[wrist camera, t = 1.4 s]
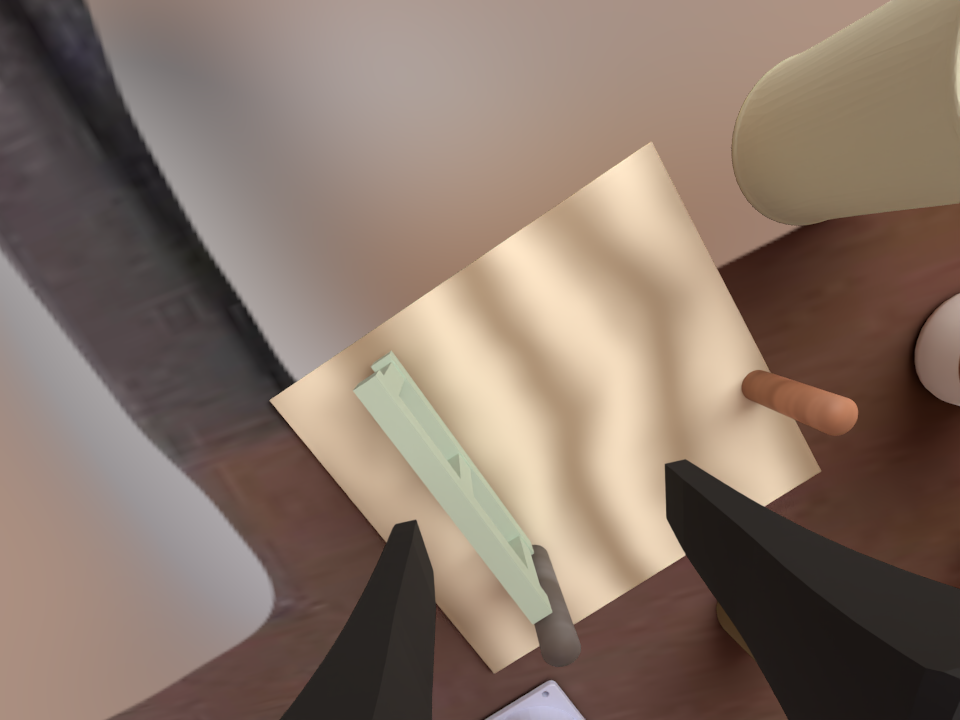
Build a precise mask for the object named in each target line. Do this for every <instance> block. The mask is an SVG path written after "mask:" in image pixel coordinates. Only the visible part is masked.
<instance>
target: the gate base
mask: <svg viewBox="0 0 960 720" xmlns="http://www.w3.org/2000/svg"><path fill="white" fill-rule="evenodd" d="M391 350H392V352H393V353H394V355H395V356H396V357H397V359H398V360H399V361H400V363H401V364H402V366H403V367H404V368H405V370H406V371H407V372H408V374H409V375H410V377H411V378H412V379H413V381H414V382H415V383H416V385H417V386H418V388H419V389H420V390H421V392H422V393H423V394H424V396H425V397H426V399H427V400H428V401H429V403H430V404H431V405H432V407H433V408H434V410H435V411H436V412H437V414H438V415H439V416H440V418H441V419H442V421H443V422H444V423H445V425H446V426H447V427H448V429H449V430H450V431H451V433H452V434H453V436H454V437H455V438H456V440H457V441H458V442H459V444H460V445H461V447H462V448H463V449H464V451H465V452H466V453H467V455H468V456H469V458H470V459H471V460H472V462H473V463H474V464H475V466H476V467H477V469H478V470H479V471H480V473H481V474H482V475H483V477H484V478H485V480H486V481H487V482H488V484H489V485H490V486H491V488H492V489H493V491H494V492H495V493H496V495H497V496H498V497H499V499H500V500H501V502H502V503H503V504H504V506H505V507H506V508H507V510H508V511H509V513H510V514H511V515H512V517H513V518H514V519H515V521H516V522H517V523H518V525H519V526H520V528H521V529H522V530H523V532H524V533H525V534H526V536H527V537H528V539H529V540H530V541H531V544H532V548H533V551H534V554H532V555H531V556H532V560H533V563H534V566H535V570H536V573H537V577H538V580H539V583H540V586H541V588H542V589H543V590H544V592H545V593H546V594H547V596H548V599H549V602H550V606H551V609H552V612H553V613H551V614H549V615H548V616H546V617H545V618H543V619H541V620H540V621H538V622H536V623H535V624H532V623H531V622H530V621H529V619H528V618H527V617H526V615H525V614H524V613H523V611H522V610H521V609H520V608H519V606H518V605H517V604H516V602H515V601H514V600H513V598H512V597H511V596H510V595H509V593H508V592H507V591H506V589H505V588H504V587H503V585H502V584H501V583H500V582H499V580H498V579H497V578H496V576H495V575H494V574H493V572H492V571H491V570H490V569H489V567H488V566H487V565H486V563H485V562H484V561H483V559H482V558H481V557H480V556H479V554H478V553H477V552H476V550H475V549H474V548H473V546H472V545H471V544H470V543H469V541H468V540H467V539H466V537H465V536H464V535H463V533H462V532H461V531H460V530H459V528H458V527H457V526H456V524H455V523H454V522H453V520H452V519H451V518H450V516H449V515H448V514H447V513H446V511H445V510H444V509H443V507H442V506H441V505H440V503H439V502H438V501H437V500H436V498H435V497H434V496H433V494H432V493H431V492H430V490H429V489H428V488H427V487H426V485H425V484H424V483H423V481H422V480H421V479H420V477H419V476H418V475H417V474H416V472H415V471H414V470H413V468H412V467H411V466H410V464H409V463H408V462H407V461H406V459H405V458H404V457H403V455H402V454H401V453H400V451H399V450H398V449H397V448H396V446H395V445H394V444H393V442H392V441H391V440H390V438H389V437H388V436H387V435H386V433H385V432H384V431H383V429H382V428H381V427H380V425H379V424H378V423H377V422H376V420H375V419H374V418H373V416H372V415H371V414H370V412H369V411H368V410H367V409H366V407H365V406H364V405H363V403H362V402H361V401H360V399H359V398H358V397H357V396H356V394H355V393H354V392H353V390H354V389H355V387H356V386H357V385H358V384H359V383H360V382H361V381H363V380H364V379H366V378H367V377H369V376H370V375H372V374H373V373H375V372H374V371H373V369H372V368H371V366H372V364H373V363H374V362H375V361H377V360H378V359H380V358H381V357H383V356H384V355H386V354H387V353H389V352H390V351H391ZM270 402H271V403H272V404H273V405H274V407H275V408H276V409H277V410H278V411H279V413H280V414H281V415H282V416H283V418H284V419H285V420H286V421H287V422H288V424H289V425H290V426H291V427H292V428H293V430H294V431H295V432H296V433H297V435H298V436H299V437H300V438H301V439H302V441H303V442H304V443H305V444H306V445H307V447H308V448H309V449H310V450H311V452H312V453H313V454H314V455H315V456H316V458H317V459H318V460H319V461H320V462H321V464H322V465H323V466H324V467H325V469H326V470H327V471H328V472H329V473H330V475H331V476H332V477H333V478H334V479H335V481H336V482H337V483H338V484H339V486H340V487H341V488H342V489H343V490H344V492H345V493H346V494H347V495H348V496H349V498H350V499H351V500H352V501H353V503H354V504H355V505H356V506H357V507H358V509H359V510H360V511H361V512H362V514H363V515H364V516H365V517H366V518H367V520H368V521H369V522H370V523H371V524H372V526H373V527H374V528H375V529H376V531H377V532H378V533H379V534H380V535H381V537H382V538H383V539H384V540H385V541H386V543H387V540H388V538H389V535H390V533H391V530H392V528H393V527H394V525H395V524H398V523H403V522H407V521H412V520H417V523H418V526H419V529H420V532H421V535H422V538H423V541H424V544H425V547H426V550H427V553H428V556H429V559H430V562H431V565H432V568H433V571H434V585H435V601H436V603H437V605H438V606H439V607H440V608H441V609H442V611H443V612H444V613H445V614H446V616H447V617H448V618H449V619H450V620H451V622H452V623H453V624H454V625H455V627H456V628H457V629H458V630H459V631H460V633H461V634H462V635H463V636H464V637H465V639H466V640H467V641H468V642H469V644H470V645H471V646H472V647H473V648H474V650H475V651H476V652H477V653H478V654H479V656H480V657H481V658H482V659H483V661H484V662H485V663H486V664H487V665H488V667H489V668H490V669H491V670H492V671H493V673H494V674H495V673H496V672H498V671H500V670H501V669H503V668H504V667H506V666H508V665H509V664H511V663H513V662H514V661H516V660H517V659H519V658H521V657H522V656H524V655H525V654H527V653H529V652H530V651H532V650H533V649H535V648H537V647H538V646H540V649H541V653H542V657H543V659H544V660H545V662H547V663H548V664H549V665H552V666H555V667H563V666H567V665H569V664H571V663H573V662H574V661H575V660H576V659H577V658H578V656H579V654H580V651H581V645H580V642H579V639H578V636H577V633H576V630H575V628H574V624H575V623H577V622H579V621H580V620H582V619H584V618H585V617H587V616H588V615H590V614H592V613H593V612H595V611H596V610H598V609H600V608H601V607H603V606H604V605H606V604H608V603H609V602H611V601H613V600H614V599H616V598H617V597H619V596H621V595H622V594H624V593H625V592H627V591H629V590H630V589H632V588H634V587H635V586H637V585H638V584H640V583H642V582H643V581H645V580H646V579H648V578H650V577H651V576H653V575H654V574H656V573H658V572H659V571H661V570H663V569H664V568H666V567H667V566H669V565H671V564H672V563H674V562H675V561H677V560H679V559H680V558H682V557H684V556H685V555H686V554H685V553H684V551H683V549H682V547H681V545H680V544H679V542H678V540H677V538H676V536H675V534H674V532H673V530H672V528H671V526H670V525H669V523H668V521H667V519H666V493H665V464H666V463H671V462H675V461H680V460H684V459H686V460H688V461H689V462H691V463H693V464H694V465H696V466H698V467H699V468H701V469H702V470H704V471H706V472H707V473H709V474H710V475H712V476H714V477H715V478H717V479H718V480H720V481H722V482H723V483H725V484H727V485H728V486H730V487H731V488H733V489H735V490H736V491H738V492H740V493H741V494H743V495H745V496H747V497H748V498H750V499H752V500H753V501H755V502H757V503H759V504H760V505H762V506H766V505H767V504H769V503H771V502H772V501H774V500H775V499H777V498H779V497H780V496H782V495H784V494H785V493H787V492H788V491H790V490H792V489H793V488H795V487H796V486H798V485H800V484H801V483H803V482H805V481H806V480H808V479H809V478H811V477H813V476H814V475H816V474H817V473H819V472H821V470H820V468H819V466H818V464H817V462H816V460H815V458H814V456H813V454H812V452H811V450H810V448H809V446H808V445H807V443H806V441H805V439H804V437H803V435H802V433H801V431H800V429H799V427H798V425H797V423H796V421H795V420H797V421H799V422H801V423H804V424H806V425H808V426H810V427H813V428H815V429H817V430H819V431H822V432H824V433H826V434H829V435H832V436H838V435H842V434H844V433H846V432H848V431H849V430H850V429H851V428H852V427H853V426H854V424H855V423H856V421H857V417H858V408H857V406H856V404H855V403H854V402H853V401H852V400H851V399H849V398H846V397H843V396H840V395H837V394H834V393H830V392H827V391H824V390H821V389H818V388H815V387H812V386H809V385H806V384H803V383H800V382H797V381H794V380H791V379H788V378H785V377H782V376H779V375H776V374H773V373H770V371H769V369H768V367H767V365H766V363H765V361H764V359H763V357H762V355H761V353H760V351H759V349H758V347H757V345H756V344H755V342H754V340H753V338H752V336H751V334H750V332H749V330H748V328H747V326H746V324H745V322H744V320H743V318H742V316H741V314H740V312H739V310H738V309H737V307H736V305H735V303H734V301H733V299H732V297H731V295H730V293H729V291H728V289H727V287H726V285H725V283H724V281H723V279H722V277H721V276H720V274H719V272H718V270H717V268H716V266H715V264H714V262H713V260H712V258H711V257H710V254H709V252H708V250H707V248H706V246H705V244H704V243H703V241H702V239H701V237H700V235H699V233H698V231H697V229H696V227H695V225H694V223H693V221H692V219H691V218H690V215H689V213H688V211H687V210H686V208H685V206H684V204H683V202H682V200H681V198H680V196H679V194H678V192H677V190H676V188H675V186H674V184H673V182H672V180H671V178H670V176H669V175H668V173H667V171H666V169H665V167H664V165H663V163H662V161H661V159H660V157H659V155H658V153H657V151H656V149H655V147H654V145H653V143H652V142H649V143H648V144H646V145H645V146H643V147H642V148H640V149H639V150H638V151H636V152H635V153H633V154H632V155H630V156H629V157H627V158H626V159H624V160H623V161H621V162H620V163H618V164H617V165H615V166H614V167H612V168H611V169H610V170H608V171H607V172H605V173H604V174H602V175H601V176H599V177H598V178H596V179H595V180H593V181H592V182H590V183H589V184H587V185H586V186H585V187H583V188H582V189H580V190H579V191H577V192H576V193H574V194H573V195H571V196H570V197H568V198H567V199H565V200H564V201H562V202H561V203H559V204H558V205H557V206H555V207H554V208H552V209H551V210H549V211H548V212H546V213H545V214H543V215H542V216H540V217H539V218H538V219H536V220H534V221H533V222H531V223H530V224H529V225H527V226H526V227H524V228H523V229H521V230H520V231H518V232H517V233H515V234H514V235H512V236H511V237H509V238H508V239H506V240H505V241H504V242H502V243H500V244H499V245H498V246H496V247H495V248H493V249H492V250H490V251H489V252H487V253H486V254H484V255H483V256H481V257H480V258H478V259H477V260H475V261H474V262H472V263H471V264H470V265H468V266H467V267H465V268H464V269H462V270H461V271H459V272H458V273H456V274H455V275H453V276H452V277H450V278H449V279H447V280H446V281H445V282H443V283H442V284H440V285H439V286H437V287H436V288H434V289H433V290H432V291H430V292H428V293H427V294H425V295H424V296H423V297H421V298H419V299H418V300H417V301H415V302H414V303H412V304H411V305H409V306H408V307H406V308H405V309H403V310H402V311H400V312H399V313H398V314H396V315H395V316H393V317H391V318H390V319H389V320H387V321H386V322H384V323H383V324H381V325H380V326H378V327H377V328H375V329H374V330H372V331H371V332H369V333H368V334H366V335H365V336H364V337H362V338H361V339H359V340H358V341H356V342H355V343H353V344H352V345H350V346H349V347H347V348H346V349H344V350H343V351H341V352H340V353H339V354H337V355H335V356H334V357H333V358H331V359H330V360H328V361H327V362H325V363H324V364H322V365H321V366H319V367H318V368H317V369H315V370H313V371H312V372H311V373H309V374H307V375H306V376H305V377H303V378H302V379H300V380H299V381H297V382H296V383H294V384H293V385H291V386H290V387H288V388H287V389H285V390H284V391H282V392H281V393H279V394H278V395H277V396H275V397H274V398H272V399H271V400H270Z"/></svg>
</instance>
